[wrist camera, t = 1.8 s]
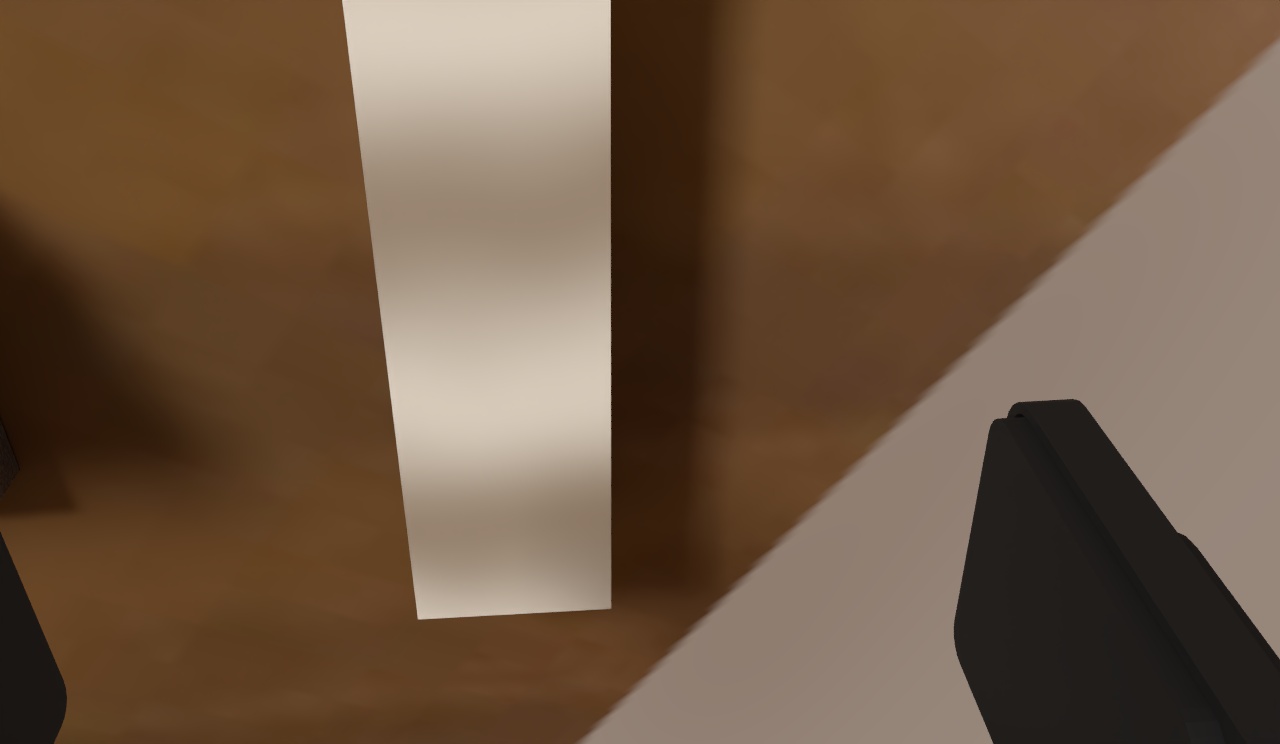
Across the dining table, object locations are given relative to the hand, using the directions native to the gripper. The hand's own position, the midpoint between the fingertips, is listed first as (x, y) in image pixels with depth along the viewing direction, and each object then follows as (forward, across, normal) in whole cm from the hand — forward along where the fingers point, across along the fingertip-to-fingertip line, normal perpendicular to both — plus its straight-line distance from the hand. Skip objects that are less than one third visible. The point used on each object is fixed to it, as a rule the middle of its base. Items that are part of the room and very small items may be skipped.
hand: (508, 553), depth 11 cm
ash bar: (+13, +1, +1) cm, 13 cm away
